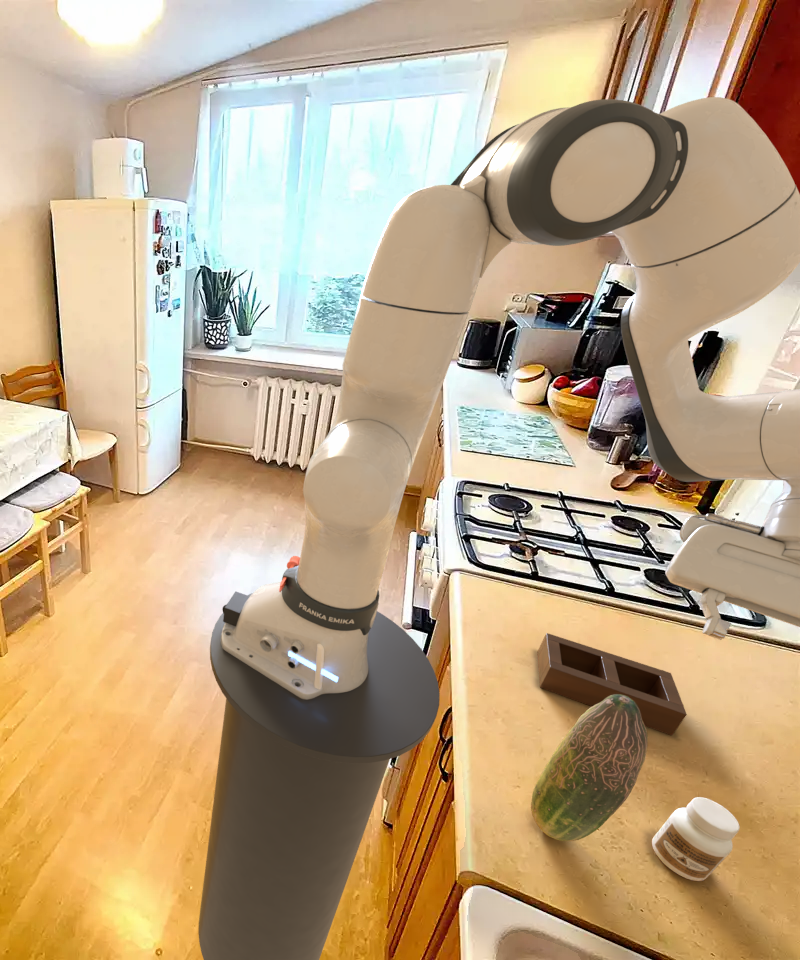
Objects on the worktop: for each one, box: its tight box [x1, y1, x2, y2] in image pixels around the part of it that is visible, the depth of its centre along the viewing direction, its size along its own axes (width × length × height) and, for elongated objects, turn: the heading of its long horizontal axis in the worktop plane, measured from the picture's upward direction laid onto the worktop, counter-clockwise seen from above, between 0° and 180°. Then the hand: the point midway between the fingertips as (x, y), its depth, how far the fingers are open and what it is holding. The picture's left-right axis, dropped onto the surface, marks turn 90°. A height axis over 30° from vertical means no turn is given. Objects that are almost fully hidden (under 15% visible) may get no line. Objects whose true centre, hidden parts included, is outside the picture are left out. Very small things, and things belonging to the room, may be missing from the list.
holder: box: [536, 632, 687, 736], centre depth 73 cm, size 8×14×4 cm, turn 59°
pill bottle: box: [651, 796, 741, 882], centre depth 52 cm, size 4×4×8 cm
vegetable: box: [530, 694, 649, 842], centre depth 52 cm, size 6×6×20 cm
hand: (776, 659), depth 53 cm, fingers open, 8 cm apart
